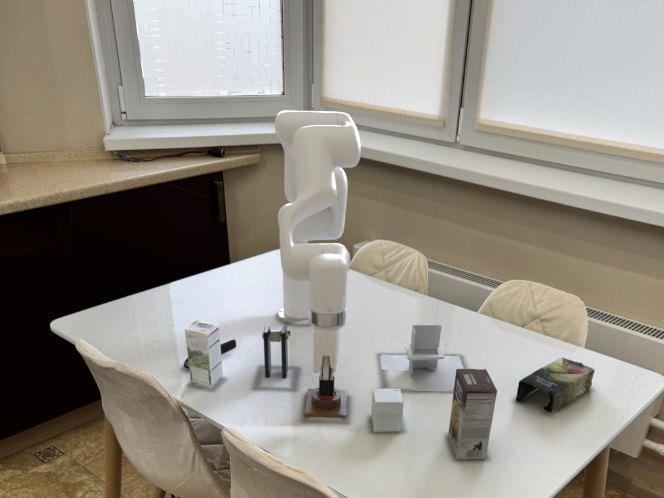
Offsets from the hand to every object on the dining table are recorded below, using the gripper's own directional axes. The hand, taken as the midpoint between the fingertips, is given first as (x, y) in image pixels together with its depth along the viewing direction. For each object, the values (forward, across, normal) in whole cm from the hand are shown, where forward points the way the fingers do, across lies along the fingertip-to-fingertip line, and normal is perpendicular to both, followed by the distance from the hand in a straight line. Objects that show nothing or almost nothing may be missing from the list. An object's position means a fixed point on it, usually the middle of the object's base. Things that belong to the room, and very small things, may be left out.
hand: (326, 393), depth 152 cm
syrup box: (+4, -10, -28) cm, 30 cm away
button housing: (+4, 0, 0) cm, 4 cm away
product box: (+4, +5, +13) cm, 15 cm away
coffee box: (+4, +13, +30) cm, 33 cm away
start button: (+2, 0, 0) cm, 2 cm away
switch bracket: (+4, -14, -12) cm, 19 cm away
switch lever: (-4, -18, -12) cm, 22 cm away
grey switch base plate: (+4, -19, +23) cm, 31 cm away
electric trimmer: (+4, -22, -30) cm, 37 cm away
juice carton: (+4, -10, +54) cm, 55 cm away
